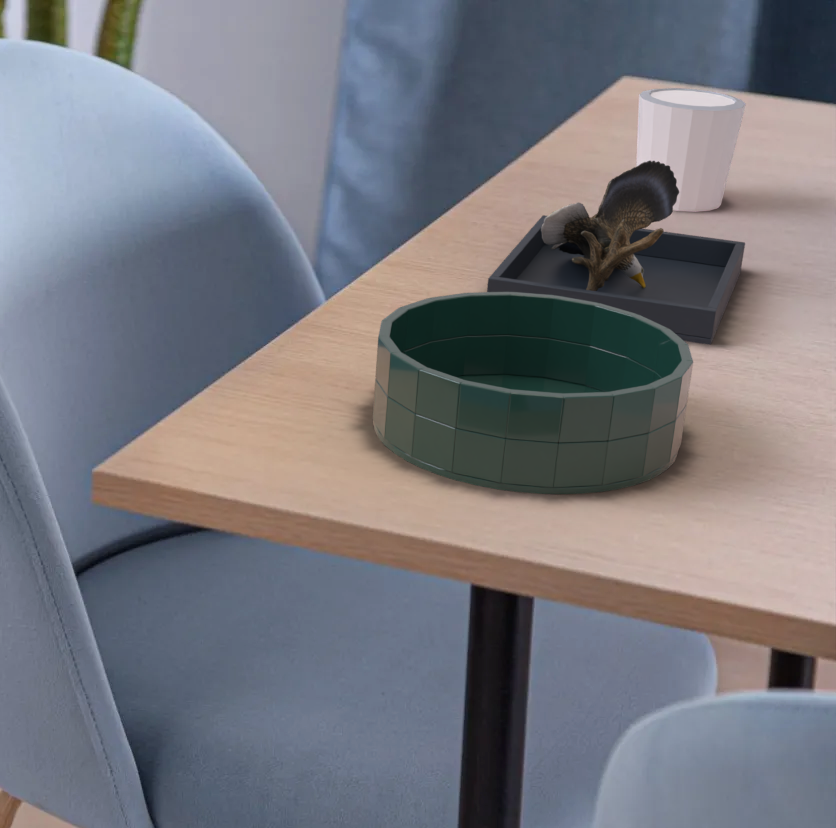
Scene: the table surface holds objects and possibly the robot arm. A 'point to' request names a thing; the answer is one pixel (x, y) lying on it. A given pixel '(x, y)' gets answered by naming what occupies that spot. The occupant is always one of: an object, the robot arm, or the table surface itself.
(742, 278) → the table surface
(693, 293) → the tray
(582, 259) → the eagle figurine
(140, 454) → the table surface
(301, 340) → the table surface
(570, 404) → the pot
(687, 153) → the white cup
